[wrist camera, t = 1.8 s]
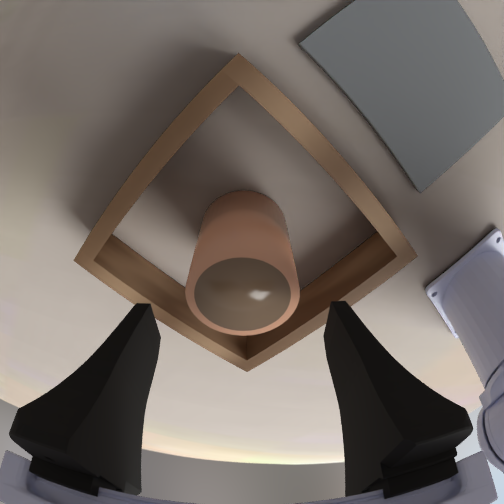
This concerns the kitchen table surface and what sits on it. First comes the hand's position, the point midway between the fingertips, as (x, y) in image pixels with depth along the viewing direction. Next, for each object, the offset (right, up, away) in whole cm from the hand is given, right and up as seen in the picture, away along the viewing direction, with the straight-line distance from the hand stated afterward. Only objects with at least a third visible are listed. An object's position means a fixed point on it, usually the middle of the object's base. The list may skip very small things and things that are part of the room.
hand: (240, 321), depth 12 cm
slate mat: (+10, +13, +1) cm, 16 cm away
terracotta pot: (0, +4, +6) cm, 8 cm away
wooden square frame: (0, +4, +6) cm, 7 cm away
